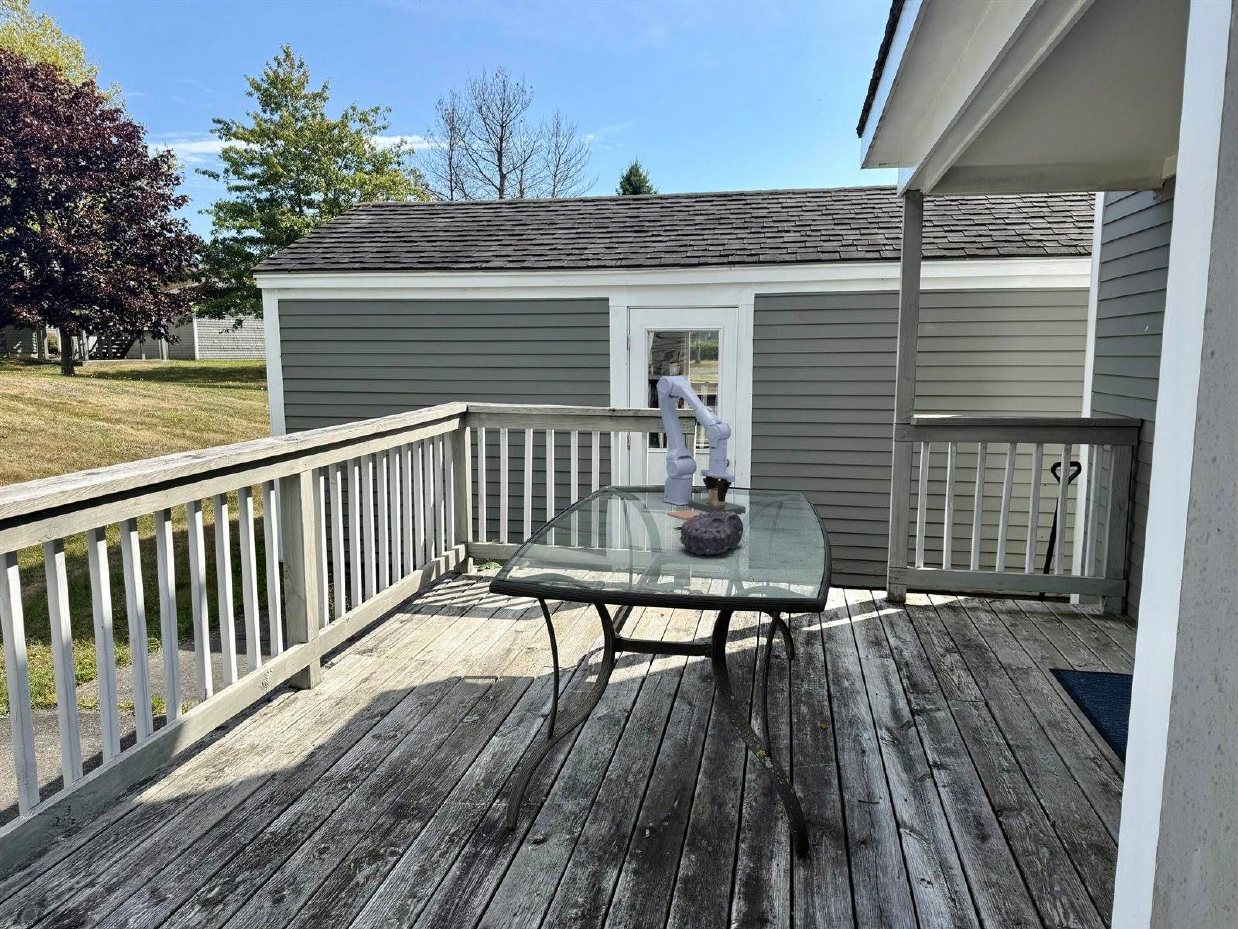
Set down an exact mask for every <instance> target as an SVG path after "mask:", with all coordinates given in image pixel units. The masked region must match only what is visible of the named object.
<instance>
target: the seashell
mask: <svg viewBox="0 0 1238 929" xmlns="http://www.w3.org/2000/svg"><path fill="white" fill-rule="evenodd" d="M699 513H700V514H699V515H698V516H697V515H695V516H693V518H691V519H689V520H685V521H684V522H683V523H682V525H681V529H680V535H681V536H680V538H679V539H678V540H679V541H680V544H682V545H684V548H685V549H686V550H688V551H689V552H690V553H693V554H694V553H695V554H696V555H697V556H702V555H705V556H710V555H714V554H715V555H716V554H720V553H725V552H726V551H727V550H729V549H728V548H733V549H735V548H736V547H737V546H738V544H740V542H741V540H742V537H743V534H744V523H743V520H742V519H741V517H740V516H739V514H738V515H737V514H736V513H735V512H733V511H731V512H728V511H726V512H722V511H720V512H718V513H717V512H716V511H713V512H712V513H709V512H706V513H703V512H699ZM734 547H735V548H734Z"/></svg>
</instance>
